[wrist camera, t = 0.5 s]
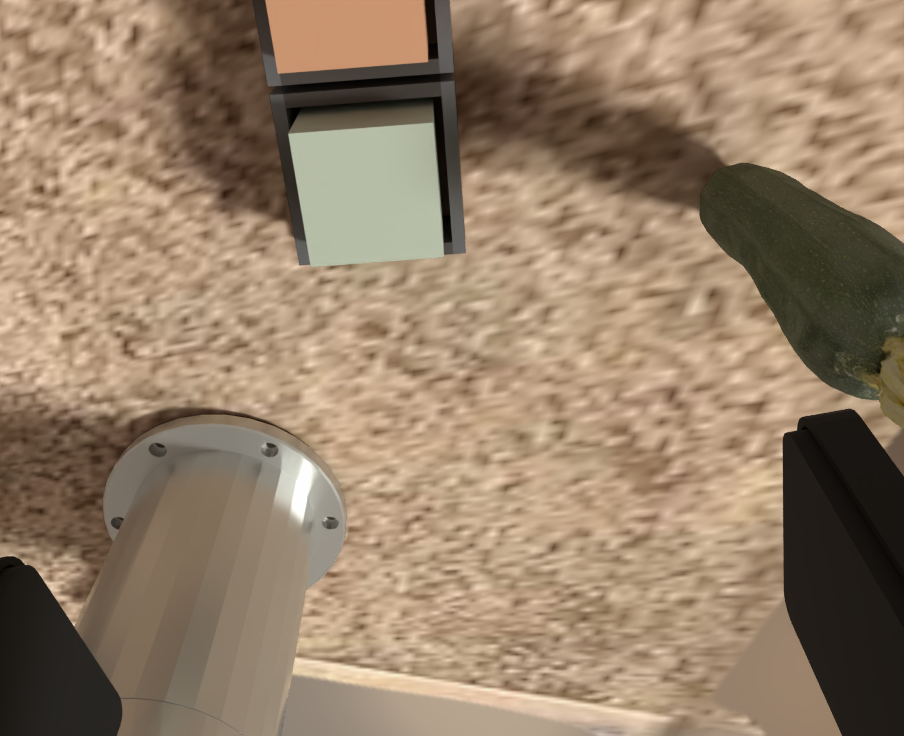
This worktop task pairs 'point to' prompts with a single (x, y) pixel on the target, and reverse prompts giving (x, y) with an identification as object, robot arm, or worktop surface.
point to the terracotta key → (347, 33)
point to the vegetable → (817, 277)
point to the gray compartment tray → (370, 87)
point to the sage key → (368, 181)
